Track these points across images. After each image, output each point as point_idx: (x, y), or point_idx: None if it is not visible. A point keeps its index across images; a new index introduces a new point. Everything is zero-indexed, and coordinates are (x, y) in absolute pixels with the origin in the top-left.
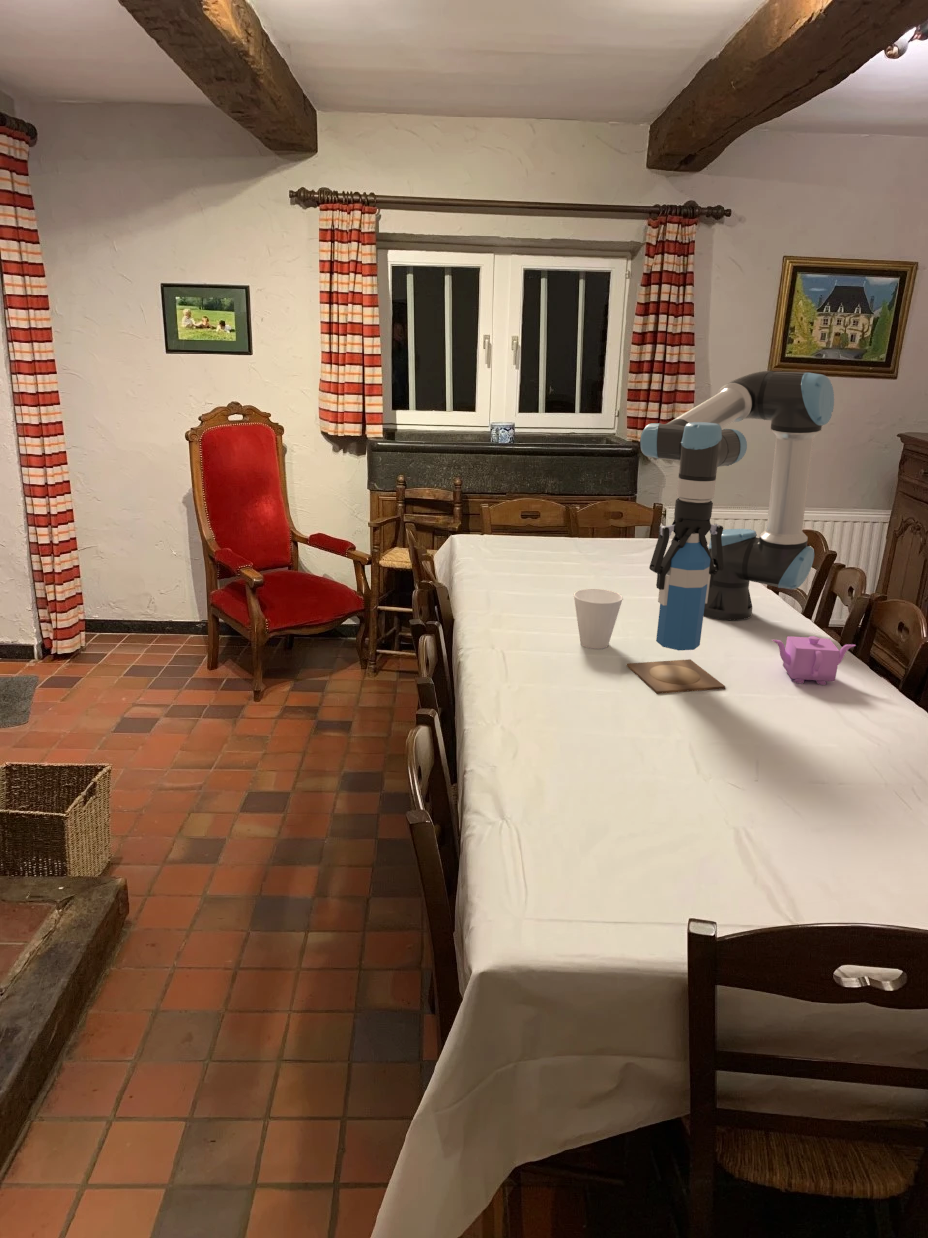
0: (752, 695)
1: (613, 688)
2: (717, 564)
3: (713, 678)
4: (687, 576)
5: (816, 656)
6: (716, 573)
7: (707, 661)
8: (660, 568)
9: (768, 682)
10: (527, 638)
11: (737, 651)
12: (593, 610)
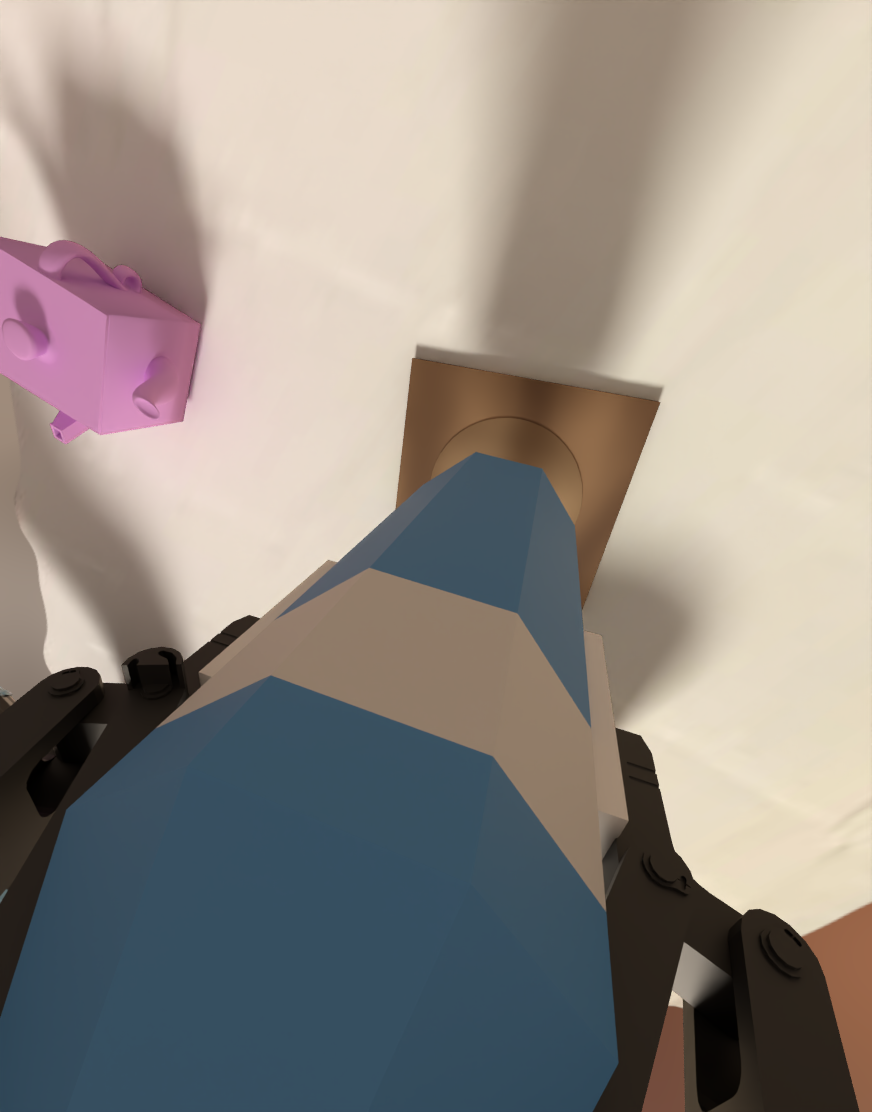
0: (363, 278)
1: (760, 497)
2: (65, 728)
3: (409, 426)
4: (502, 689)
5: (68, 254)
6: (148, 650)
7: (347, 544)
8: (706, 956)
9: (266, 356)
10: (691, 839)
11: (244, 562)
12: None
